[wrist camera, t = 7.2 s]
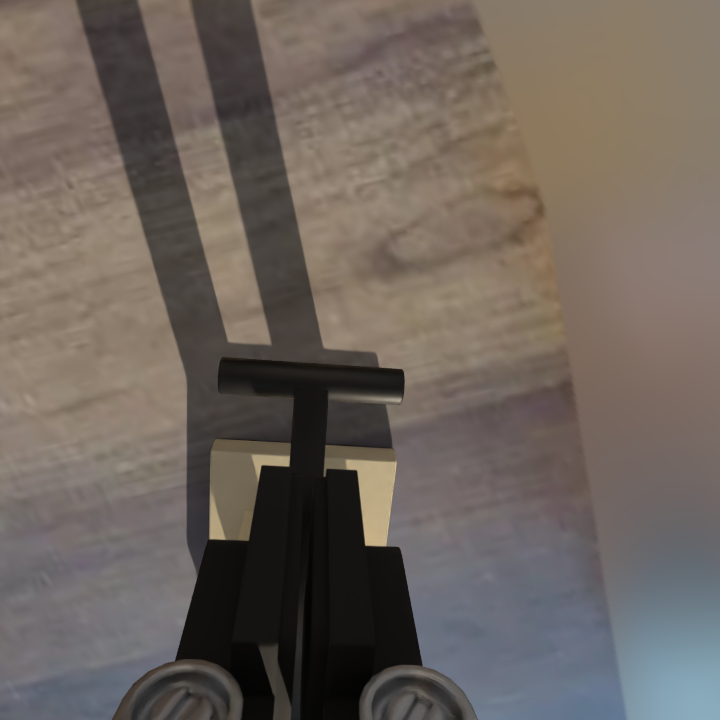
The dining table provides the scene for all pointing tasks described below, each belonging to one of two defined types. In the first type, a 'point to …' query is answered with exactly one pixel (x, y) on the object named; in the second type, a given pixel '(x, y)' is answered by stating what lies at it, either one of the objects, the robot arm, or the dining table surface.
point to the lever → (308, 427)
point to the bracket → (244, 460)
